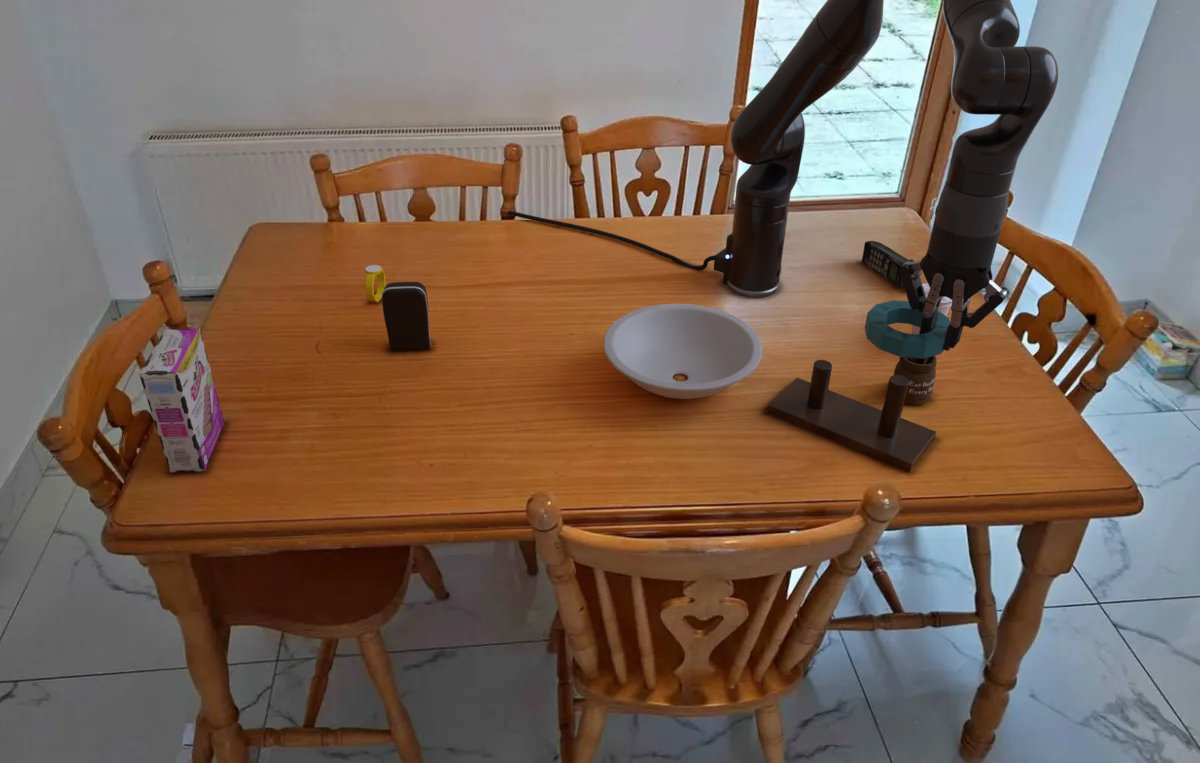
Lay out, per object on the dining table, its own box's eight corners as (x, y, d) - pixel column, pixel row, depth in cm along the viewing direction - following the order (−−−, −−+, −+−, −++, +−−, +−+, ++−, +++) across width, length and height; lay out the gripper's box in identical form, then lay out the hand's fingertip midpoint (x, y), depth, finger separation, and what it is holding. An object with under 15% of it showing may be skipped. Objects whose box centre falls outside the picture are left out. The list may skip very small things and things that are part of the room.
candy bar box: (207, 472, 126) (176, 373, 116) (169, 474, 125) (135, 374, 116) (227, 422, 135) (200, 326, 125) (192, 424, 135) (162, 327, 125)
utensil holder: (881, 389, 143) (896, 322, 136) (914, 379, 145) (930, 313, 138) (906, 410, 138) (923, 342, 131) (940, 400, 140) (958, 332, 134)
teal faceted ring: (852, 339, 121) (855, 324, 120) (884, 308, 128) (888, 292, 127) (929, 367, 116) (933, 351, 115) (959, 332, 123) (963, 317, 121)
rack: (767, 412, 138) (775, 353, 132) (795, 385, 143) (804, 327, 137) (909, 472, 127) (925, 410, 121) (934, 439, 133) (950, 379, 127)
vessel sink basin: (628, 437, 133) (630, 400, 129) (586, 349, 151) (585, 314, 148) (783, 411, 138) (789, 374, 134) (723, 328, 157) (727, 294, 153)
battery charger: (433, 338, 154) (426, 277, 147) (431, 351, 151) (424, 289, 144) (391, 340, 153) (382, 278, 147) (388, 352, 150) (379, 290, 144)
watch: (379, 307, 162) (374, 277, 158) (363, 306, 162) (359, 276, 159) (391, 290, 167) (386, 261, 163) (376, 289, 167) (371, 260, 164)
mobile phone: (862, 240, 174) (918, 272, 163) (874, 236, 175) (931, 269, 164) (858, 264, 176) (913, 298, 165) (870, 260, 178) (926, 294, 166)
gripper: (1038, 225, 109) (1000, 349, 119) (923, 195, 116) (897, 315, 126) (1017, 248, 104) (980, 376, 114) (899, 215, 111) (874, 338, 121)
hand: (937, 343), depth 120 cm, fingers closed on teal faceted ring, 2 cm apart
